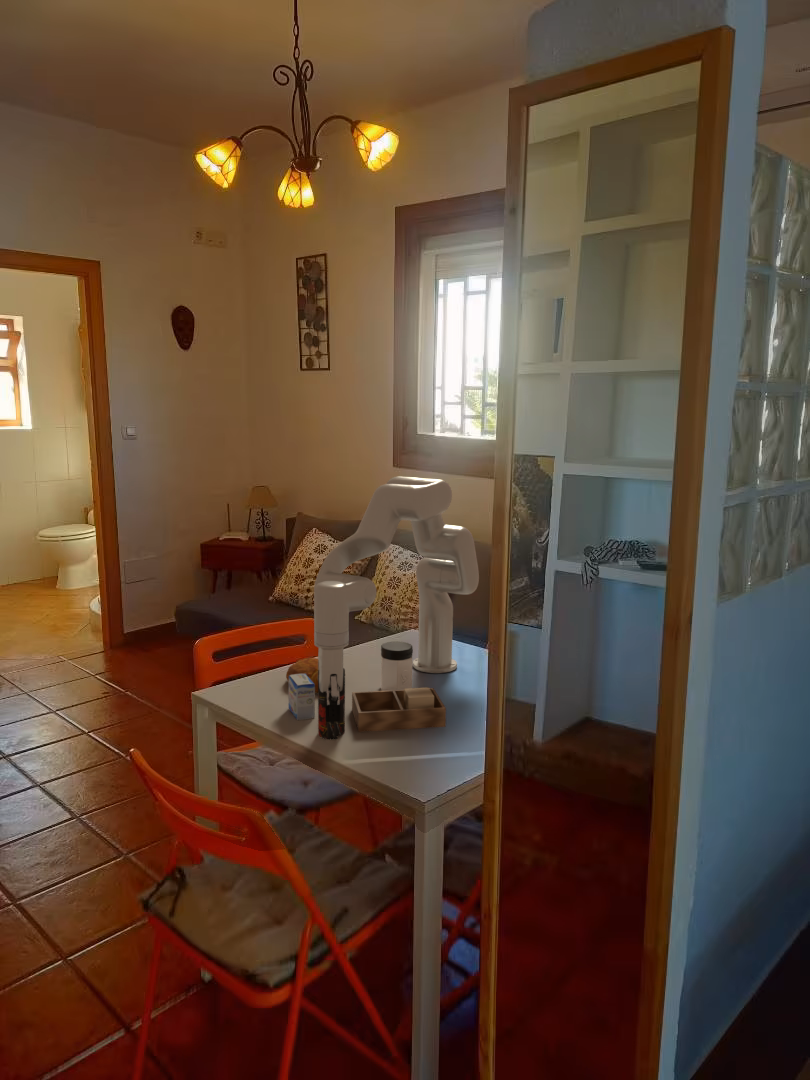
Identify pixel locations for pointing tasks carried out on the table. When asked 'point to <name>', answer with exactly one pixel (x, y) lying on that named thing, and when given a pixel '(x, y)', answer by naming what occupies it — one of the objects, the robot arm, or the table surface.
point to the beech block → (418, 698)
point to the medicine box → (301, 696)
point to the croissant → (306, 670)
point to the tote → (394, 712)
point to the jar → (396, 666)
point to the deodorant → (324, 728)
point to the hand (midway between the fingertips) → (331, 714)
